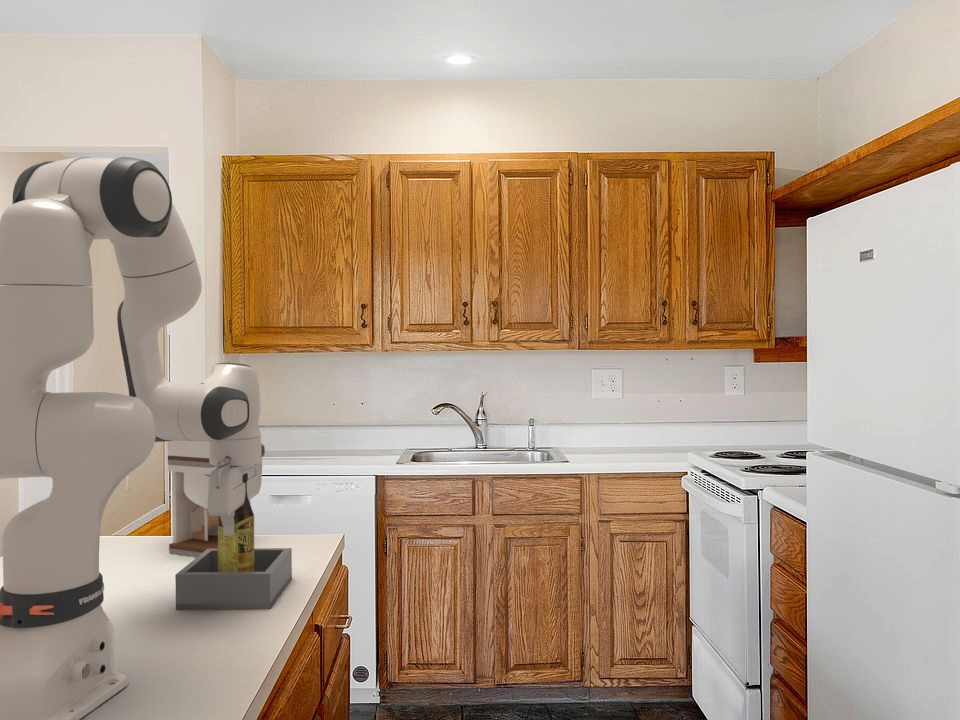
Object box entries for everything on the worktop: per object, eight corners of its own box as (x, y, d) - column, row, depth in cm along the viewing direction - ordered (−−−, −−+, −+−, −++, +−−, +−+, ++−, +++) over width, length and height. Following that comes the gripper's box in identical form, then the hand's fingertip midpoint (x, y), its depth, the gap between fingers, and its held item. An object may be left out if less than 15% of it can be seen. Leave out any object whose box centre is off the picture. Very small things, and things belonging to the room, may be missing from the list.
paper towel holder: (169, 553, 165) (166, 390, 164) (204, 541, 175) (202, 387, 174) (211, 559, 160) (208, 391, 159) (245, 546, 170) (243, 388, 169)
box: (270, 608, 131) (270, 573, 131) (175, 609, 131) (175, 574, 131) (291, 579, 147) (291, 548, 147) (207, 580, 147) (207, 548, 147)
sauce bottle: (244, 589, 135) (242, 476, 134) (211, 587, 136) (209, 475, 135) (261, 577, 141) (259, 469, 141) (230, 575, 142) (228, 468, 142)
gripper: (235, 462, 128) (236, 545, 128) (267, 445, 148) (268, 516, 149) (197, 462, 128) (198, 545, 128) (234, 445, 148) (235, 516, 148)
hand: (236, 529), depth 138 cm, fingers closed on sauce bottle, 6 cm apart
